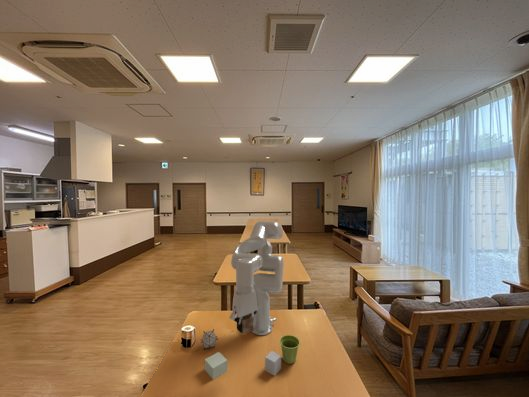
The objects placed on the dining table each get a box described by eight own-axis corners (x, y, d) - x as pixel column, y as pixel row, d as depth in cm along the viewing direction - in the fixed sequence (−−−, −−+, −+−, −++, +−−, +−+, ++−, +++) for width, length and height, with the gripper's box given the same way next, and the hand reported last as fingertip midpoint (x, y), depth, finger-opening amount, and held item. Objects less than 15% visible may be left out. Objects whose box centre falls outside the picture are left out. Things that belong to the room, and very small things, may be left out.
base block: (218, 362, 106) (218, 351, 106) (227, 371, 101) (227, 360, 101) (205, 370, 101) (204, 359, 101) (213, 380, 96) (213, 368, 96)
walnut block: (247, 325, 104) (246, 312, 104) (253, 330, 100) (253, 317, 100) (237, 329, 101) (237, 316, 101) (243, 335, 97) (243, 321, 97)
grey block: (271, 363, 105) (271, 350, 105) (281, 368, 102) (281, 355, 102) (265, 370, 101) (265, 357, 101) (274, 376, 98) (274, 362, 98)
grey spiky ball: (211, 356, 115) (212, 348, 109) (196, 348, 116) (196, 340, 110) (220, 338, 122) (221, 330, 116) (206, 331, 123) (206, 322, 117)
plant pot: (301, 354, 111) (301, 337, 110) (297, 369, 102) (297, 350, 102) (282, 350, 114) (282, 333, 114) (277, 364, 105) (277, 345, 105)
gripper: (255, 280, 108) (256, 318, 109) (223, 290, 98) (223, 332, 98) (265, 285, 102) (266, 325, 103) (232, 296, 92) (232, 341, 93)
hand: (245, 328), depth 101 cm, fingers closed on walnut block, 5 cm apart
